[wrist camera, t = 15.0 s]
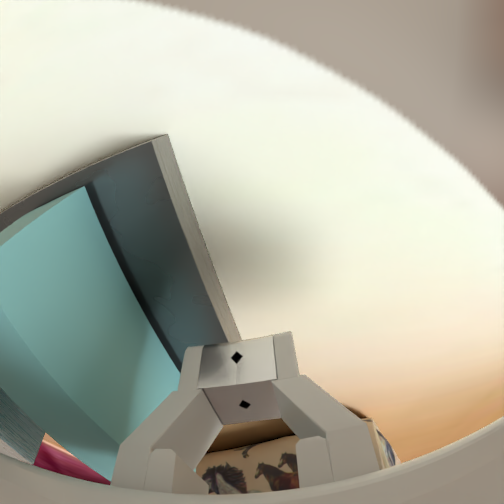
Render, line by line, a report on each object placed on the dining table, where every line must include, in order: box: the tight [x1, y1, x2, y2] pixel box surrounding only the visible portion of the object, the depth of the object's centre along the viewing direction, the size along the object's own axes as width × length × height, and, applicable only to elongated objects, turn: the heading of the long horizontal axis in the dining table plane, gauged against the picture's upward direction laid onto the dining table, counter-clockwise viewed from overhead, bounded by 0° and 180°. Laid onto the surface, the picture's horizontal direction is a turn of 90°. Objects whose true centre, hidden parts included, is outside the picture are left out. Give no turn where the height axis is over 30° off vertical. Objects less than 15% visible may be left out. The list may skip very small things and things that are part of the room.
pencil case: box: [196, 418, 401, 495], centre depth 16 cm, size 22×8×10 cm, turn 116°
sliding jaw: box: [0, 186, 196, 481], centre depth 9 cm, size 11×3×5 cm, turn 15°
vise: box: [0, 134, 241, 459], centre depth 10 cm, size 12×18×7 cm, turn 105°
